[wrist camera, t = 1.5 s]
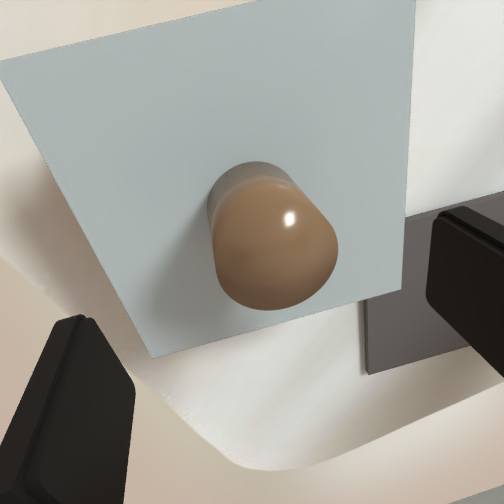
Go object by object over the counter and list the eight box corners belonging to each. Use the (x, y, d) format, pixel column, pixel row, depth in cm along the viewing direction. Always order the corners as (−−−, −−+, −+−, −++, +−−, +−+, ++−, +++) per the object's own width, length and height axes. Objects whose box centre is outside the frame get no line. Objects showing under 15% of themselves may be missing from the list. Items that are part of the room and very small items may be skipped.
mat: (591, 167, 25) (599, 169, 25) (536, 320, 34) (542, 324, 33) (362, 229, 24) (366, 233, 24) (365, 370, 33) (368, 375, 32)
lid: (395, -29, 12) (538, -84, 7) (388, 274, 20) (456, 349, 15) (10, 62, 12) (-117, 68, 7) (154, 339, 19) (144, 439, 14)
